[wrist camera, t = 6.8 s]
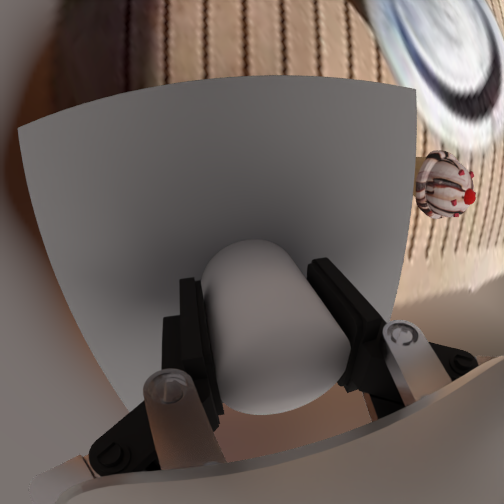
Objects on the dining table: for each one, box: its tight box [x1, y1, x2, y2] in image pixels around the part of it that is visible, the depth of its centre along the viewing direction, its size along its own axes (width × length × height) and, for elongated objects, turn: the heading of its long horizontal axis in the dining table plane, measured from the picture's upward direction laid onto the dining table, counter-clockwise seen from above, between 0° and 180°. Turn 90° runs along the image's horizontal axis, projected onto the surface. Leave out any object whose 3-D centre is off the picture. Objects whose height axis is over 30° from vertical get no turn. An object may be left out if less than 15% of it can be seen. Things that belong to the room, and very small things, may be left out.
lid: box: [18, 75, 417, 415], centre depth 10 cm, size 16×16×6 cm
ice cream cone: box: [413, 151, 476, 219], centre depth 23 cm, size 6×6×15 cm
